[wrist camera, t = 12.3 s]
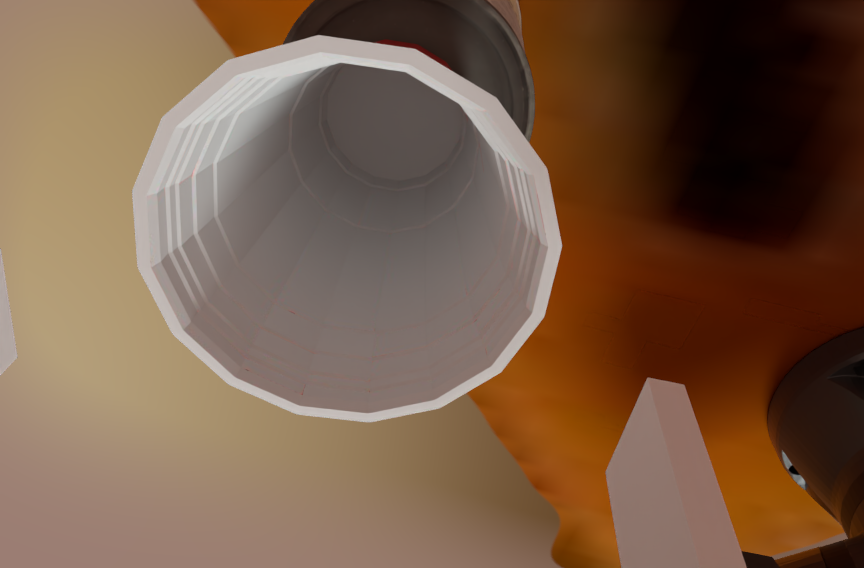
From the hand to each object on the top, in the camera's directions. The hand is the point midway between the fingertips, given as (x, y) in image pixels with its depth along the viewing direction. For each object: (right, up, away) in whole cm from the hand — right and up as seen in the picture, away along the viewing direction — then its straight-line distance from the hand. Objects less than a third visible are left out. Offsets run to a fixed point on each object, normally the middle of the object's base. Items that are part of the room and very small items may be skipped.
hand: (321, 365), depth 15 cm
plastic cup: (+1, +8, +13) cm, 16 cm away
